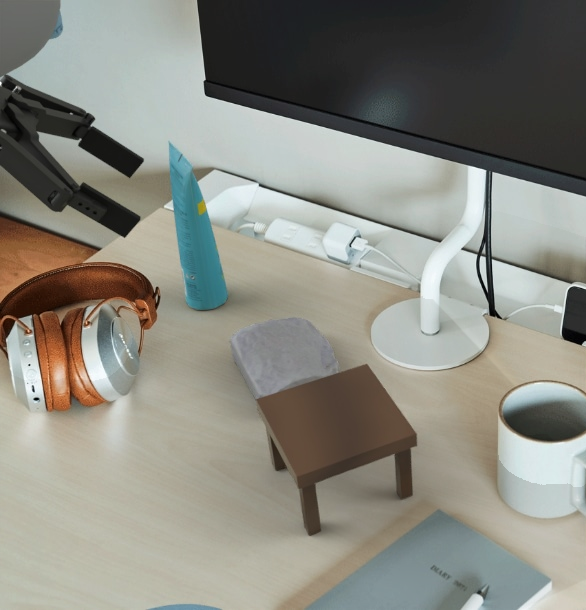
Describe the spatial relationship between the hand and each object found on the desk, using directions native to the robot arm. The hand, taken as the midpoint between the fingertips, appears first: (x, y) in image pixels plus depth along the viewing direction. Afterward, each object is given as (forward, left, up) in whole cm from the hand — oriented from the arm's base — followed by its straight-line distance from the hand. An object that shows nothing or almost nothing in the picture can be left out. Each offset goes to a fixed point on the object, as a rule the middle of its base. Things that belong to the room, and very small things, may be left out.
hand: (135, 196), depth 101 cm
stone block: (+9, -19, -15) cm, 26 cm away
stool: (+8, -36, -15) cm, 40 cm away
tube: (+5, -1, -15) cm, 16 cm away
